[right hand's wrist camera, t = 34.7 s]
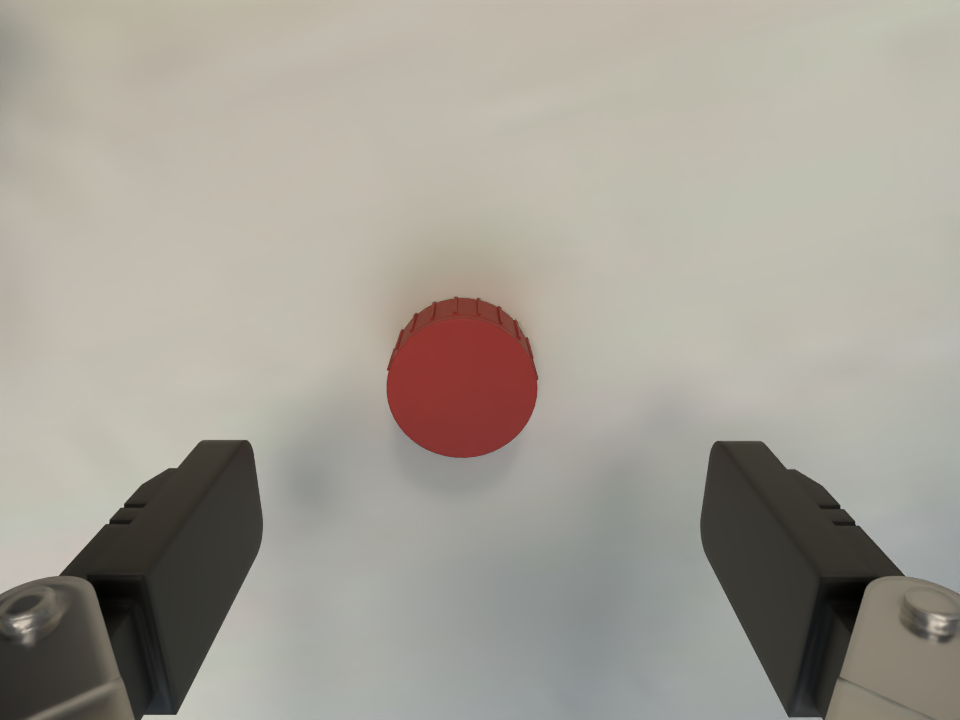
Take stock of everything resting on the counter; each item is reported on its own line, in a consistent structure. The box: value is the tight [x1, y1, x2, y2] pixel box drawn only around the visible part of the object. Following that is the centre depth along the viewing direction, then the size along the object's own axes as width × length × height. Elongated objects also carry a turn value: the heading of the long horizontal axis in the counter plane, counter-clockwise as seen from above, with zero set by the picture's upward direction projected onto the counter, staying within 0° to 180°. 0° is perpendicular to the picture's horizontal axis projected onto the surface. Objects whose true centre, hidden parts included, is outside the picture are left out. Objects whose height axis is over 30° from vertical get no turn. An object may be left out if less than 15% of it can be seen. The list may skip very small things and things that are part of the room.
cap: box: [387, 297, 538, 458], centre depth 17 cm, size 4×4×2 cm
